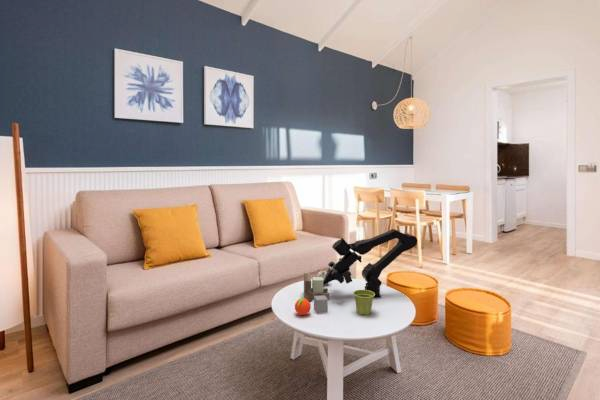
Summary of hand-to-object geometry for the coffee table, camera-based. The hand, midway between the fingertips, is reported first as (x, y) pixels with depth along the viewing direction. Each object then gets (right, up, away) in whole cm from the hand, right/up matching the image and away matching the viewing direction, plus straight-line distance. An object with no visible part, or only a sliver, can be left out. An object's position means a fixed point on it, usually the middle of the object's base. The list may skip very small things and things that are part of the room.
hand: (323, 283), depth 177 cm
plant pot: (+16, -9, -17) cm, 25 cm away
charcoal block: (-2, -8, -16) cm, 18 cm away
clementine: (-11, -9, -21) cm, 25 cm away
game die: (+1, -5, +18) cm, 19 cm away
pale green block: (-3, -6, +1) cm, 7 cm away
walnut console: (-3, -6, +1) cm, 7 cm away
